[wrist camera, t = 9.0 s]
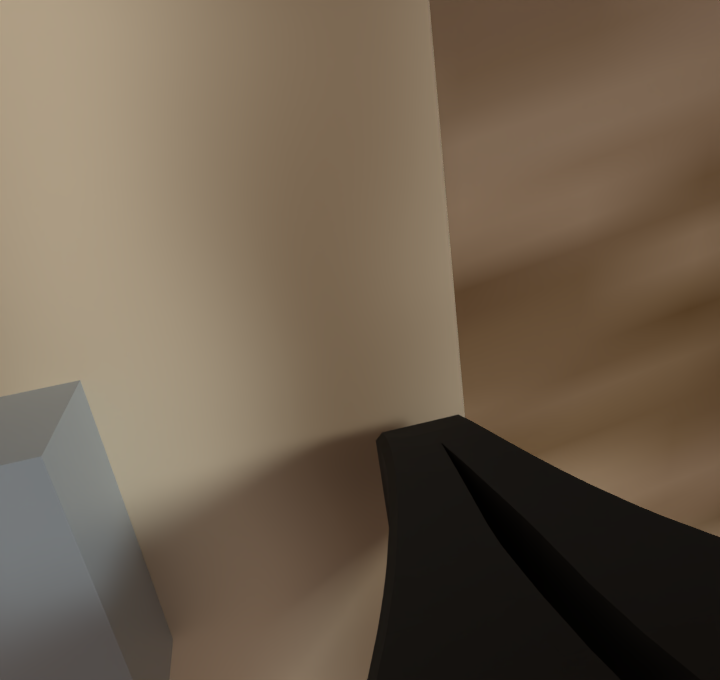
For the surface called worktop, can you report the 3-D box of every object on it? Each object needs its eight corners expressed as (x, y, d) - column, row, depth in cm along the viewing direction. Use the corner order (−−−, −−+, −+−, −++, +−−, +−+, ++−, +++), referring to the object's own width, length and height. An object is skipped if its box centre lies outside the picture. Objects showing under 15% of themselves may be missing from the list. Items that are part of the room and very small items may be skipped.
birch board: (367, -38, 10) (421, -89, 7) (462, 774, 18) (505, 893, 15) (-838, 115, 8) (-1402, 122, 5) (-116, 961, 16) (-185, 1138, 13)
